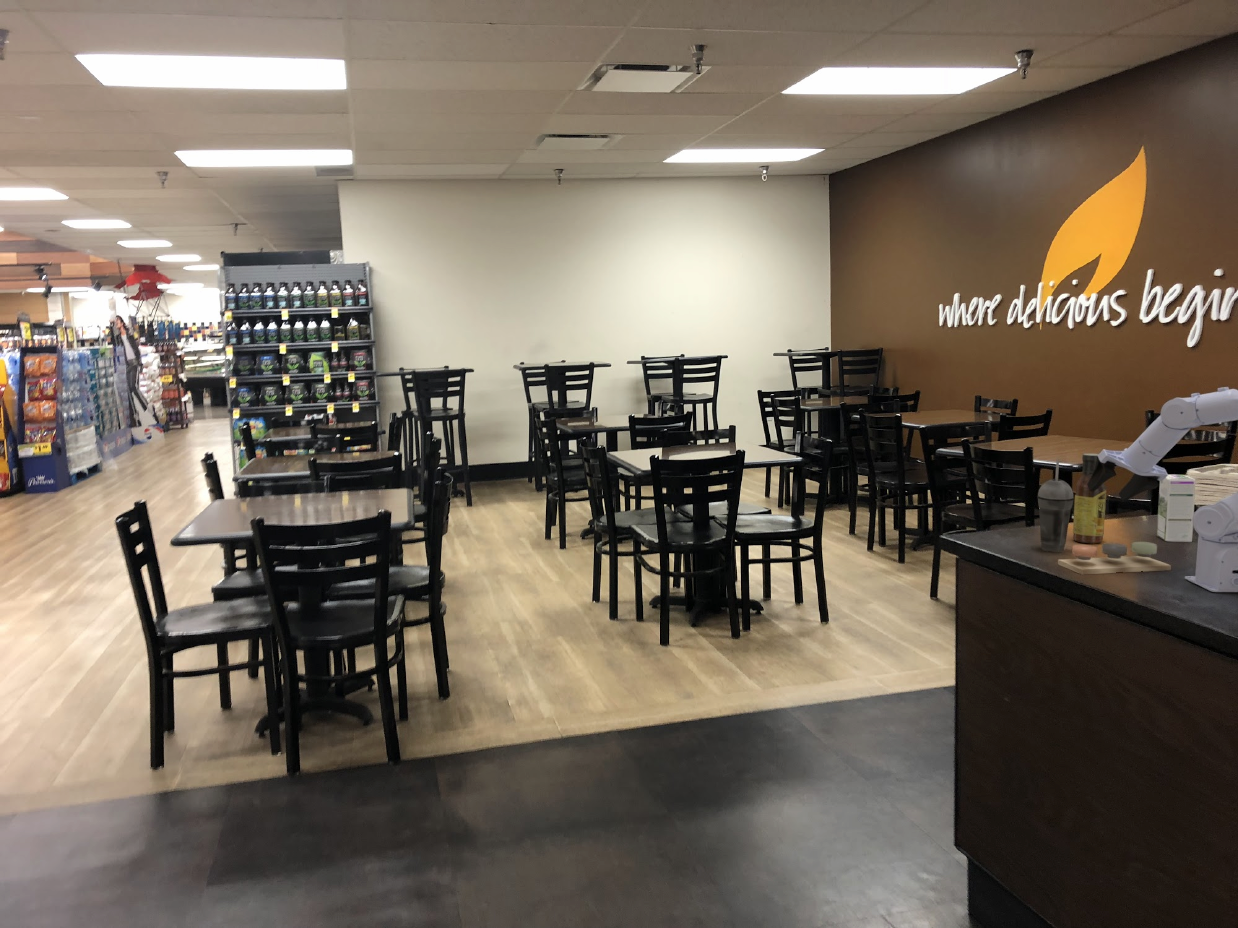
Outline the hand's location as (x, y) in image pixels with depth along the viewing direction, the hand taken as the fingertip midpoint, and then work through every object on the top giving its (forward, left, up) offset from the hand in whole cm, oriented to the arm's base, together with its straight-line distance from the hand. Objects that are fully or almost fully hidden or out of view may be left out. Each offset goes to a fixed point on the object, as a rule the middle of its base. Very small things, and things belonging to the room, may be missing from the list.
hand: (1105, 493), depth 192 cm
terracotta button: (-7, +7, -12) cm, 15 cm away
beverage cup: (+9, +6, -14) cm, 18 cm away
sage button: (-5, -6, -12) cm, 14 cm away
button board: (-6, 0, -14) cm, 15 cm away
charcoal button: (-6, 0, -12) cm, 13 cm away
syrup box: (+19, -25, -14) cm, 34 cm away
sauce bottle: (+17, -5, -14) cm, 23 cm away
